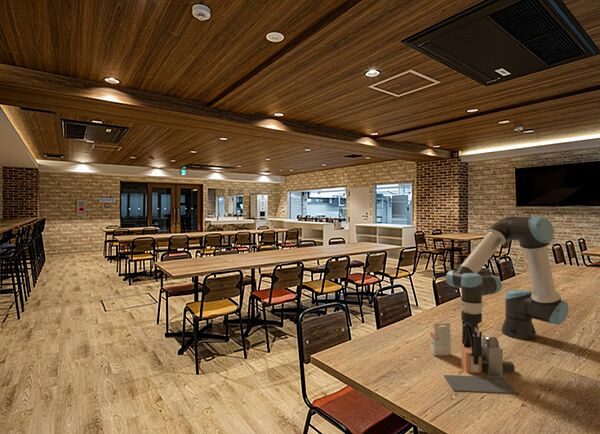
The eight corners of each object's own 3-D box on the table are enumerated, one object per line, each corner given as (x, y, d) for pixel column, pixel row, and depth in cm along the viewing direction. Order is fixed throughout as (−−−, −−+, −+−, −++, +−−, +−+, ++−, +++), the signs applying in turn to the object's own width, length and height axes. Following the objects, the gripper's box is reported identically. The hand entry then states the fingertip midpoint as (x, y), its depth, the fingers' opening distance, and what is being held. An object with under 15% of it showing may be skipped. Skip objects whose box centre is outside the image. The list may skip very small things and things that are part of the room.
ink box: (430, 352, 153) (430, 321, 152) (446, 352, 154) (446, 320, 153) (434, 356, 149) (434, 324, 149) (451, 355, 150) (451, 323, 150)
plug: (509, 368, 138) (509, 348, 137) (515, 374, 133) (515, 354, 132) (461, 366, 139) (461, 347, 139) (466, 372, 134) (466, 352, 134)
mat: (502, 378, 129) (502, 377, 129) (518, 393, 118) (518, 392, 118) (443, 376, 131) (443, 375, 131) (453, 391, 121) (453, 390, 121)
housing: (489, 364, 141) (489, 332, 141) (502, 377, 130) (502, 343, 130) (477, 363, 142) (477, 332, 141) (489, 376, 131) (489, 342, 130)
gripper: (453, 304, 146) (453, 356, 146) (471, 318, 127) (471, 378, 127) (471, 305, 145) (471, 357, 146) (492, 319, 126) (492, 379, 127)
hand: (471, 367), depth 137 cm, fingers open, 6 cm apart
